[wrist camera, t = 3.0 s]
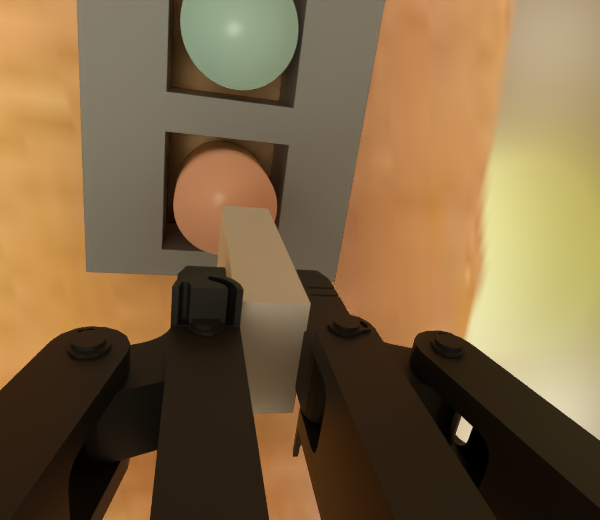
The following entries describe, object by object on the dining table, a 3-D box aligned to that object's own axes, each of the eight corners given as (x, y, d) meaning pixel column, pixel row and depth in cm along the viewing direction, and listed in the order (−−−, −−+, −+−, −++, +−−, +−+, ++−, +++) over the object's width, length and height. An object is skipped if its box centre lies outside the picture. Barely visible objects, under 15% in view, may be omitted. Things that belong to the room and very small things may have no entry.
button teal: (181, 78, 21) (177, 81, 18) (185, -33, 20) (182, -53, 16) (275, 91, 22) (290, 97, 19) (286, -13, 21) (305, -29, 17)
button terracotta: (175, 223, 24) (171, 252, 20) (178, 136, 22) (175, 150, 19) (260, 229, 25) (271, 258, 21) (269, 146, 23) (282, 161, 20)
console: (102, 241, 25) (86, 271, 21) (90, -321, 17) (62, -424, 13) (316, 253, 28) (334, 281, 24) (392, -225, 20) (436, -288, 16)
